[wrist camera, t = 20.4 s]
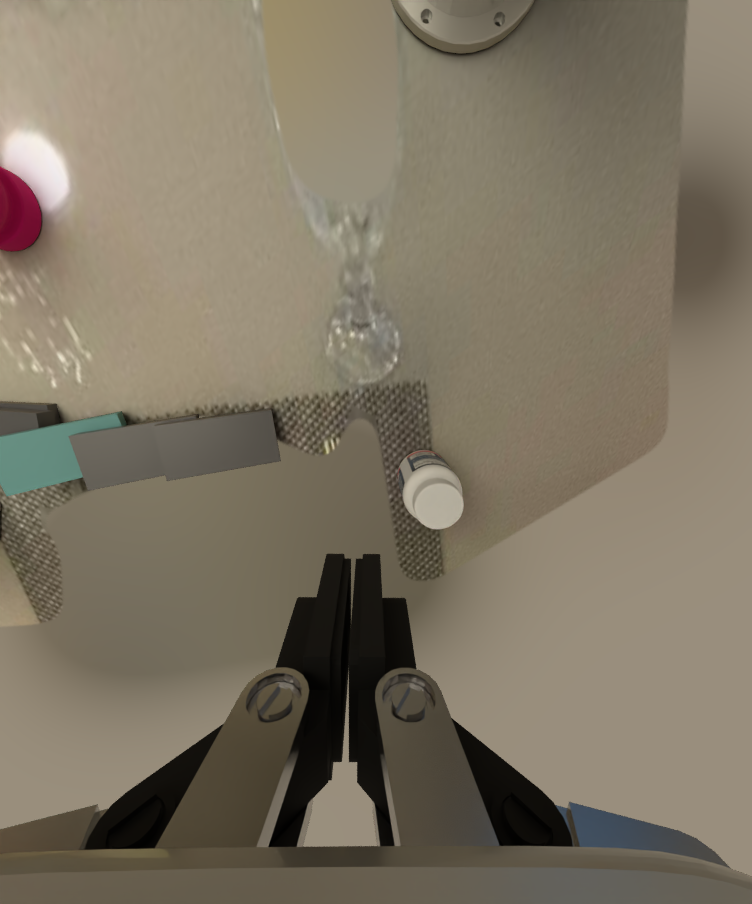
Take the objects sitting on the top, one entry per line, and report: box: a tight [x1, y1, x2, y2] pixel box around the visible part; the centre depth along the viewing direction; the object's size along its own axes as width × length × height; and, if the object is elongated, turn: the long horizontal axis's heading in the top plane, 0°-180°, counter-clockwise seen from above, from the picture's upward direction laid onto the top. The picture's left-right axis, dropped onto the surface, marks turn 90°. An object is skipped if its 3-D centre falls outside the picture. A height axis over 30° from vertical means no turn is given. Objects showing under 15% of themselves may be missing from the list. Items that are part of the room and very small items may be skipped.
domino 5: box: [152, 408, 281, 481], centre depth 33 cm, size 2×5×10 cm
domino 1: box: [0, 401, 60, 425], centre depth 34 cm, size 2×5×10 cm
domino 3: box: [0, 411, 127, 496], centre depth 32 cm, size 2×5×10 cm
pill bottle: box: [397, 450, 464, 529], centre depth 32 cm, size 5×5×9 cm
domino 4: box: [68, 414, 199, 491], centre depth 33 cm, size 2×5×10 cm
